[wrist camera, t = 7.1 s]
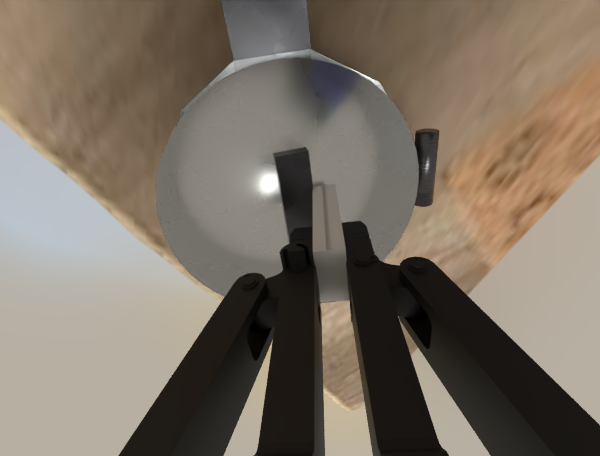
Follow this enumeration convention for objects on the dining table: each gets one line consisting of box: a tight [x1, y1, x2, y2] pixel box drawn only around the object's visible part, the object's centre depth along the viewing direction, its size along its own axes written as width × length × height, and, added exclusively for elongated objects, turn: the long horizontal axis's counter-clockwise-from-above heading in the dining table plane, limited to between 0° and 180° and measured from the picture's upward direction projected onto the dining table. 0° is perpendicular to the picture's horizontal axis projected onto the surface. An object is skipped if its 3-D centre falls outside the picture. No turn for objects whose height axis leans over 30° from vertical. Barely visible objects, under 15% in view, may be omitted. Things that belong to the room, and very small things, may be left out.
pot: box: [179, 0, 439, 303], centre depth 24 cm, size 22×18×7 cm
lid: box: [156, 58, 419, 296], centre depth 18 cm, size 16×16×2 cm
